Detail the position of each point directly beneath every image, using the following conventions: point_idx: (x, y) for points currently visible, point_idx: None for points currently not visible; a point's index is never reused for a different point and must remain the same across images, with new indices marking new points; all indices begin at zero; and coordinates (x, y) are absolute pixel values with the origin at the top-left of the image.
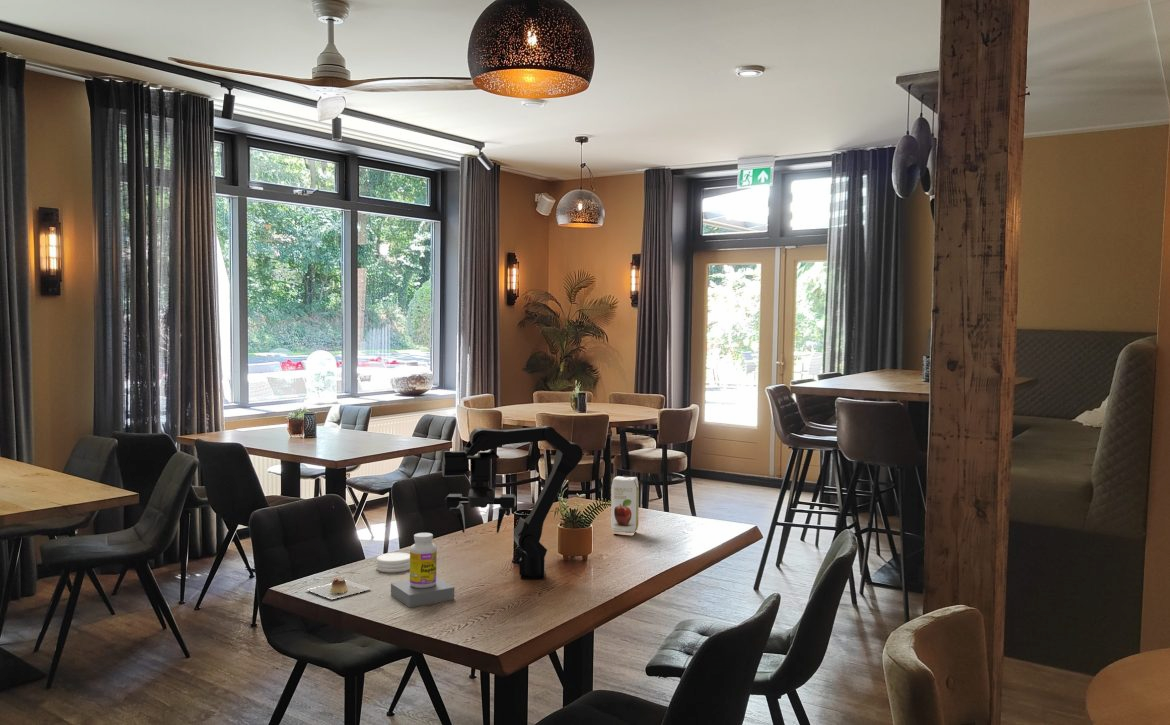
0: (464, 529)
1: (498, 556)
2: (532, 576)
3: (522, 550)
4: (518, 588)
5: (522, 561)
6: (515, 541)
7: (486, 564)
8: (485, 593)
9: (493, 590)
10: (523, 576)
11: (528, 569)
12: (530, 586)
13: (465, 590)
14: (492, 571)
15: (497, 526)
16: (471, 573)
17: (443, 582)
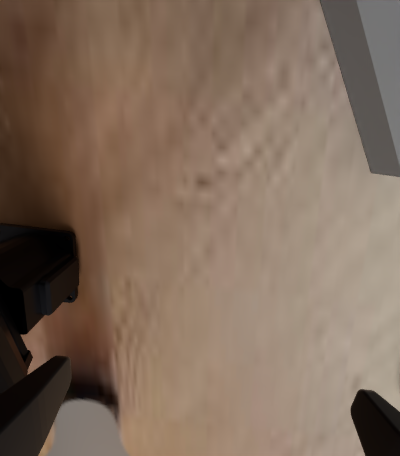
0: (369, 427)
1: (157, 442)
2: (31, 234)
3: (28, 352)
4: (72, 126)
5: (36, 274)
6: (16, 367)
7: (189, 385)
8: (192, 71)
9: (162, 110)
10: (64, 243)
11: (29, 248)
12: (32, 147)
13: (265, 122)
14: (171, 323)
15: (17, 408)
16: (235, 311)
17: (383, 62)
